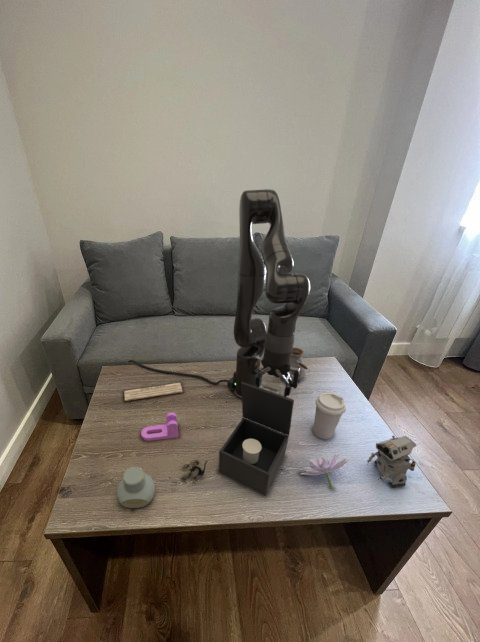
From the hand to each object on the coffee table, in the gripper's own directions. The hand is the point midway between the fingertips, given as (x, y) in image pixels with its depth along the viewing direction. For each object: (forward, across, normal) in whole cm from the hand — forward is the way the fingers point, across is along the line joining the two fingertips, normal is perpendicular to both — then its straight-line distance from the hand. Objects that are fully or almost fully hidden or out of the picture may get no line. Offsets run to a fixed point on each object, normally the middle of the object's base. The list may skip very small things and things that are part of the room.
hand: (272, 390), depth 96 cm
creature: (+24, +14, +23) cm, 36 cm away
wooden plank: (+24, +50, -1) cm, 55 cm away
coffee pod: (+18, 0, +12) cm, 22 cm away
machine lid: (+5, 0, +4) cm, 6 cm away
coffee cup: (+24, -16, -16) cm, 32 cm away
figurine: (+24, -36, -7) cm, 43 cm away
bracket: (+24, +33, +15) cm, 44 cm away
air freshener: (+24, +24, +38) cm, 51 cm away
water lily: (+24, -20, +2) cm, 31 cm away
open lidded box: (+24, 0, +10) cm, 26 cm away
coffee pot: (+24, +2, -38) cm, 45 cm away
